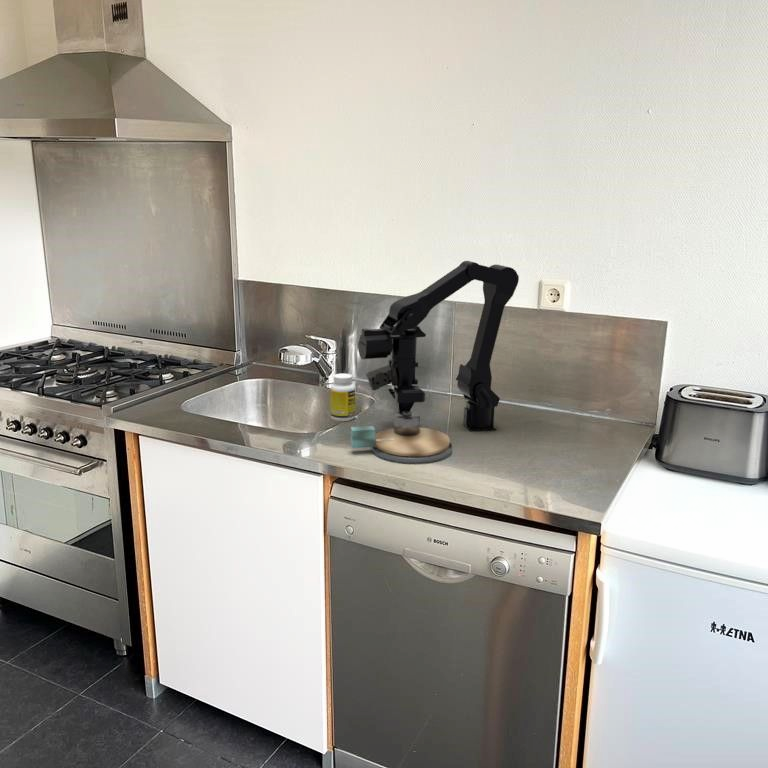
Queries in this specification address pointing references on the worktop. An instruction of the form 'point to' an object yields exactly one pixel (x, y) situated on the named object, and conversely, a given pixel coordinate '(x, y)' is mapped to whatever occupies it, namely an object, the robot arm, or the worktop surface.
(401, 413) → the cover
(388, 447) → the turntable
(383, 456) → the base
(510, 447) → the worktop surface
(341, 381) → the pill bottle
